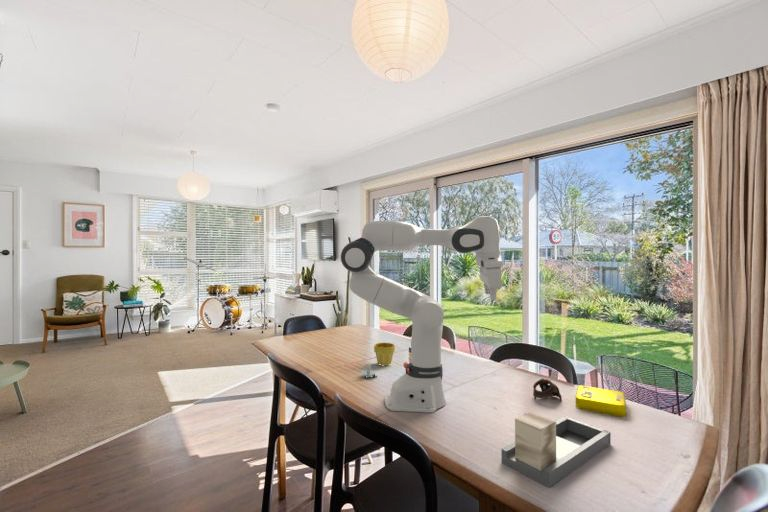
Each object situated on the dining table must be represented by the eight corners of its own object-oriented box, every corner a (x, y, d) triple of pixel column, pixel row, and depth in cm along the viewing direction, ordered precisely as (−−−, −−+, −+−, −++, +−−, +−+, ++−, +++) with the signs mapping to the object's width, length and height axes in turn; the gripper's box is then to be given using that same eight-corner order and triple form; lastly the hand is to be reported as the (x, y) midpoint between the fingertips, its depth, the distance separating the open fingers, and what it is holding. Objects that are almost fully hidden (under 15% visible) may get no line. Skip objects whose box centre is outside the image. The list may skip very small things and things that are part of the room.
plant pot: (394, 367, 174) (394, 347, 174) (373, 367, 174) (373, 347, 175) (394, 361, 185) (394, 342, 185) (374, 361, 185) (374, 342, 185)
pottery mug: (568, 405, 130) (559, 387, 129) (543, 415, 132) (534, 397, 130) (555, 385, 142) (547, 369, 140) (532, 394, 143) (524, 378, 142)
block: (541, 471, 86) (540, 429, 86) (515, 457, 92) (515, 418, 92) (556, 461, 90) (556, 421, 90) (530, 449, 96) (530, 411, 96)
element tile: (626, 419, 119) (626, 405, 119) (575, 409, 127) (575, 396, 127) (624, 403, 131) (624, 390, 131) (578, 395, 139) (578, 383, 139)
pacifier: (368, 373, 166) (359, 376, 161) (368, 360, 166) (359, 362, 162) (380, 377, 161) (371, 380, 157) (380, 363, 161) (371, 366, 157)
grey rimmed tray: (549, 488, 83) (549, 472, 83) (501, 462, 93) (501, 448, 93) (610, 444, 102) (610, 432, 102) (565, 427, 113) (565, 415, 113)
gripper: (475, 257, 142) (477, 291, 144) (484, 264, 122) (487, 303, 124) (491, 256, 142) (493, 290, 143) (503, 262, 122) (505, 302, 123)
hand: (490, 296), depth 133 cm, fingers open, 8 cm apart
